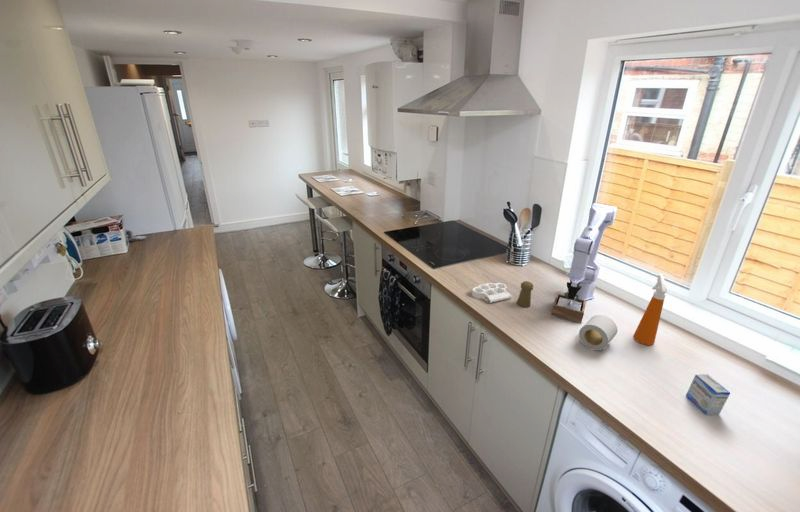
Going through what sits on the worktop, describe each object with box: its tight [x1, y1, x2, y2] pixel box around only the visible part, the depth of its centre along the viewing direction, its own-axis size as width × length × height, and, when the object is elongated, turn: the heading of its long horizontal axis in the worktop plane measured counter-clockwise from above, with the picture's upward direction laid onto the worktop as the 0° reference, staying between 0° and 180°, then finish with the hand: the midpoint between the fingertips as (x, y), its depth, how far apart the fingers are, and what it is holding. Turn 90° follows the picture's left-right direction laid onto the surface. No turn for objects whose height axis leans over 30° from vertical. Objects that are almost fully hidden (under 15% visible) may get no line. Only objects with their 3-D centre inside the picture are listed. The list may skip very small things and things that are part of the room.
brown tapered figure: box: [516, 280, 534, 309], centre depth 162 cm, size 6×6×11 cm
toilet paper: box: [578, 314, 618, 351], centre depth 138 cm, size 10×10×10 cm
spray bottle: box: [632, 273, 668, 346], centre depth 139 cm, size 7×11×26 cm, turn 161°
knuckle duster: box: [471, 282, 512, 304], centre depth 172 cm, size 3×18×15 cm
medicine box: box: [685, 373, 731, 416], centre depth 110 cm, size 8×4×9 cm, turn 5°
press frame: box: [550, 293, 587, 324], centre depth 158 cm, size 12×12×5 cm
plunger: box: [556, 291, 582, 311], centre depth 157 cm, size 9×9×6 cm
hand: (571, 295), depth 156 cm, fingers open, 7 cm apart
